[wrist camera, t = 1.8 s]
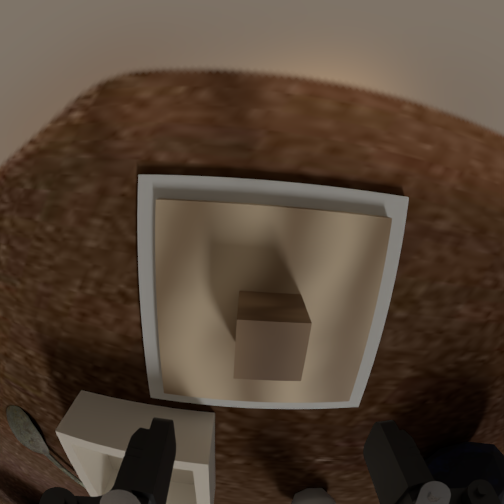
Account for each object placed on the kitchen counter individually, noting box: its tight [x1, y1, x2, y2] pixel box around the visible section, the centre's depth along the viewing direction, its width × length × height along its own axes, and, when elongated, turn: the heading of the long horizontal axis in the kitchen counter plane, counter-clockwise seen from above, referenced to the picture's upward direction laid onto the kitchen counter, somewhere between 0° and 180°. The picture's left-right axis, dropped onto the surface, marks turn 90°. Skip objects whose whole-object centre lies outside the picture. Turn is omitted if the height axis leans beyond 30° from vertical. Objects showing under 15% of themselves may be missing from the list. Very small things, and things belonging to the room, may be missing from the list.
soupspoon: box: [7, 406, 85, 487], centre depth 28 cm, size 22×3×7 cm
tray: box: [137, 174, 409, 409], centre depth 22 cm, size 18×18×1 cm
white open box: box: [55, 390, 215, 504], centre depth 24 cm, size 13×13×6 cm
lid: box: [155, 198, 392, 403], centre depth 19 cm, size 15×15×5 cm
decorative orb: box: [425, 442, 504, 504], centre depth 22 cm, size 14×15×15 cm
